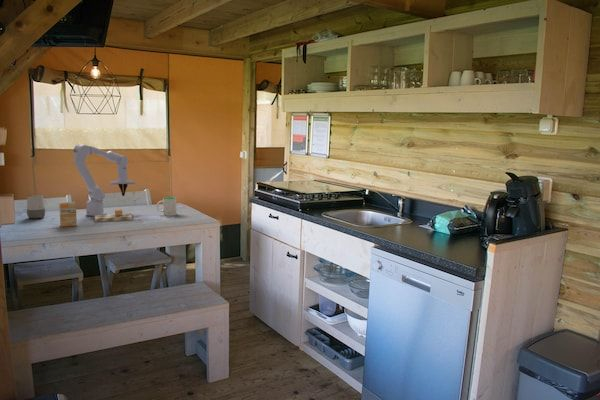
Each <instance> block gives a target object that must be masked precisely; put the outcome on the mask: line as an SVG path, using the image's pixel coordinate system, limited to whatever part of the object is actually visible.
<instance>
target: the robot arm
mask: <svg viewBox="0 0 600 400" xmlns="http://www.w3.org/2000/svg"><path fill="white" fill-rule="evenodd" d="M72 152H73V163H74V165H75V167H76V169H77V171H78V173H79V174H80V176H81V178H82V180H83V182H84V184H85V185H86V187H87V193H88V196H89V198H90V200H87V201H86V203H85V209H86V211H85V212H86V214H85V216H93V217H95V215H108V213H107V212H104V210H105V209H104V199H105V192H104V191H102V190H101V188H100V187H99V186H98V185H97V183H96V182H95V180H94V178H93V175H92V174H91V172H90V170H89V169H88V167H87V165H86V163H85V161H86V159H87V158H88V156H89V155H92V154H95V155H98V156H102V157H104V158H105V160H106V161H109V162H113V163H115V164H117V165H116V166H117V180H116V181H110V185H111V186H113V185H118V188H119V190H120V192H121V196H122V197H124V196H125V195H126V191H127V187H128V185H135V184H136V181H135V180H128V164H129V159H128V157H127V156H126V155H121V153H116V152H114V150H109V151H105V150H102V149H99V148H98V147H94V146H90V145H86V144H77V145H75V146H74V148H73V151H72Z"/></svg>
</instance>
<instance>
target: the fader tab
mask: <svg viewBox="0 0 600 400" xmlns="http://www.w3.org/2000/svg"><path fill="white" fill-rule="evenodd" d="M114 214H115V216H118V215H122V214H123V208H120V209H119V208H117V209H114Z"/></svg>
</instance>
